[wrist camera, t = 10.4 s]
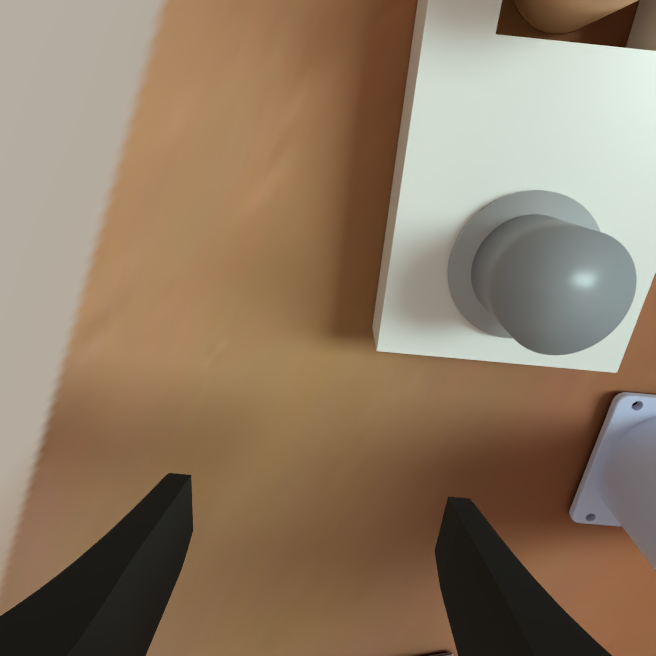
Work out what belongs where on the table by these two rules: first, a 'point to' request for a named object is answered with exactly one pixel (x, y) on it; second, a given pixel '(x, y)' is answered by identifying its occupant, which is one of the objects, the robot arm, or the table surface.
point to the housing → (520, 194)
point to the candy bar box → (443, 654)
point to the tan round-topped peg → (566, 13)
